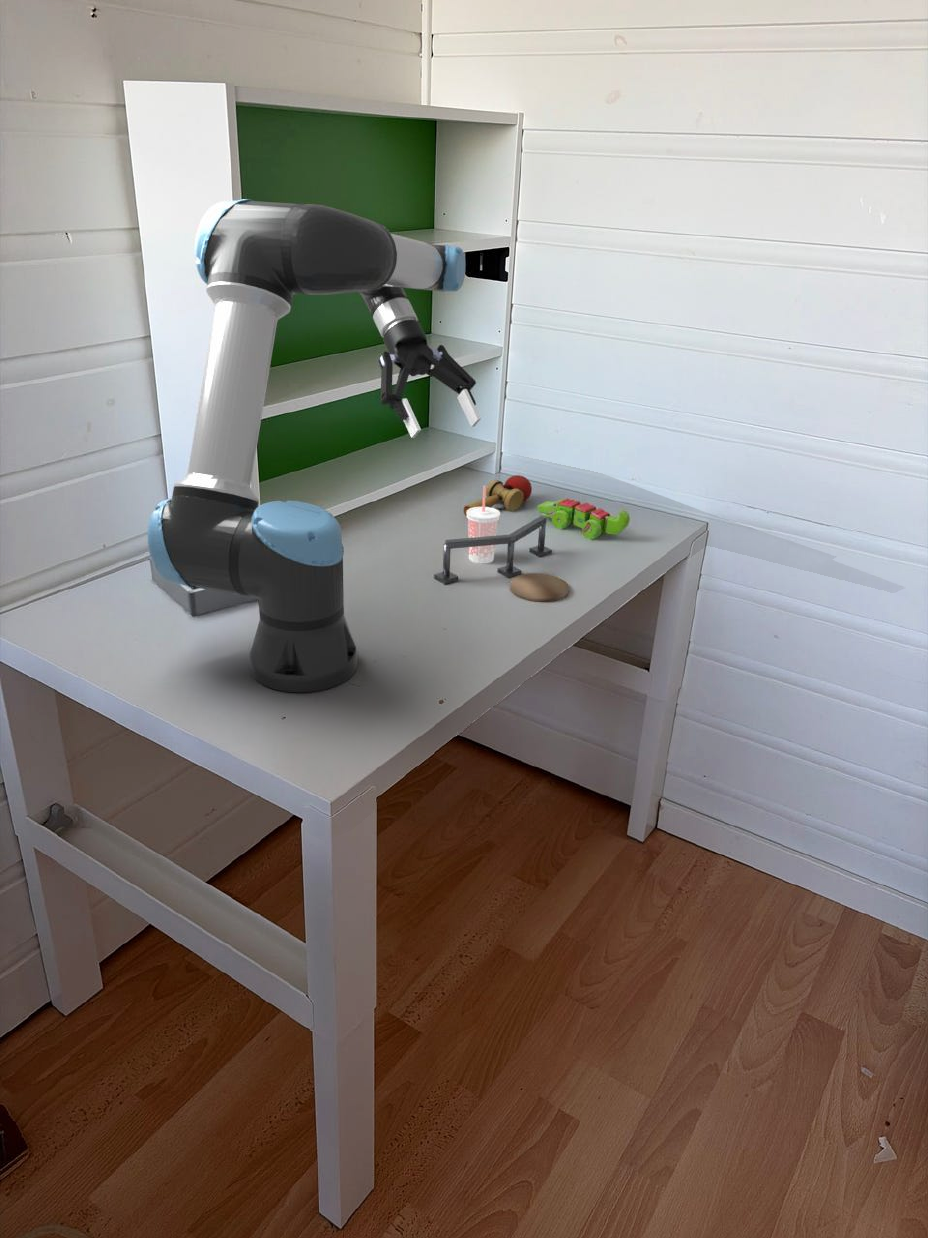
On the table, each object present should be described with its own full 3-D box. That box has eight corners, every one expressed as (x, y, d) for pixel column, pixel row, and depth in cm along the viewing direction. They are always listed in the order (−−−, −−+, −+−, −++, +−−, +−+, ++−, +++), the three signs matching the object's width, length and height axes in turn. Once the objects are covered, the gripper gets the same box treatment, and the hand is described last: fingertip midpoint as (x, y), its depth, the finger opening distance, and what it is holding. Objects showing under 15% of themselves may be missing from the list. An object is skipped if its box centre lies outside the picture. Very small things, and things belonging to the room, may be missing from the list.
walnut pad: (536, 607, 155) (537, 602, 155) (498, 585, 162) (498, 581, 162) (580, 592, 160) (581, 588, 160) (541, 572, 167) (541, 568, 167)
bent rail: (458, 592, 159) (459, 552, 155) (434, 578, 164) (435, 538, 160) (566, 560, 173) (570, 523, 169) (541, 548, 178) (544, 511, 174)
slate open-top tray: (192, 616, 148) (189, 593, 146) (152, 579, 159) (149, 557, 157) (270, 595, 155) (269, 573, 153) (227, 562, 167) (225, 541, 165)
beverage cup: (501, 554, 174) (505, 482, 168) (493, 567, 169) (497, 492, 163) (469, 550, 176) (472, 478, 169) (460, 562, 170) (463, 488, 164)
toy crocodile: (531, 521, 191) (533, 492, 188) (550, 513, 196) (553, 485, 193) (613, 547, 180) (617, 517, 177) (632, 538, 184) (635, 509, 182)
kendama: (485, 530, 189) (543, 499, 200) (479, 501, 186) (538, 470, 197) (459, 526, 194) (516, 496, 205) (452, 498, 192) (511, 468, 202)
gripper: (445, 335, 185) (489, 428, 182) (335, 348, 171) (381, 449, 168) (462, 312, 179) (509, 407, 175) (350, 323, 165) (398, 427, 162)
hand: (446, 428), depth 172 cm, fingers open, 13 cm apart
